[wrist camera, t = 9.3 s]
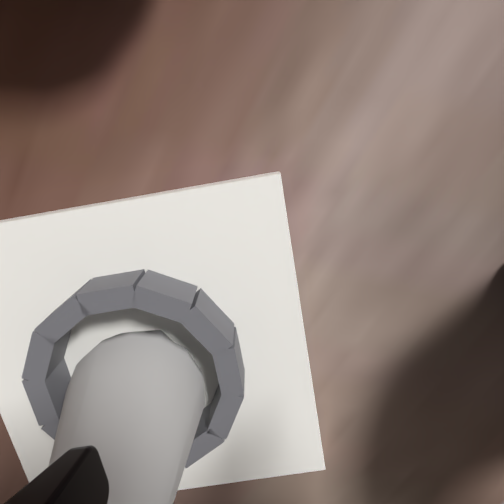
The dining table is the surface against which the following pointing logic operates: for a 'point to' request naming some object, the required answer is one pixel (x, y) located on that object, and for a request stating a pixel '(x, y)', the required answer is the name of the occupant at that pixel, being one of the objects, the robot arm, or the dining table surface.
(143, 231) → the ring holder
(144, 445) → the salt shaker
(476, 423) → the dining table surface
